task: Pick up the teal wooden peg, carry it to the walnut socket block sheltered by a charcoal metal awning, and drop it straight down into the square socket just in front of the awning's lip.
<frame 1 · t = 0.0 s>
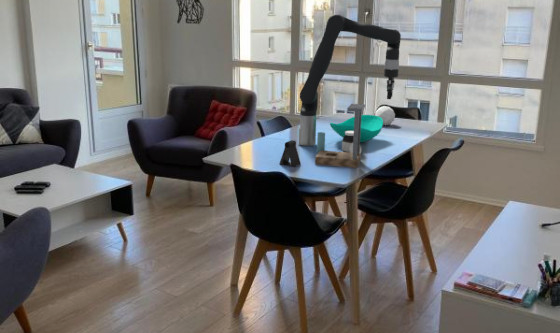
hand: (389, 98, 303), 29 cm above the table, tool pointing down, fingers open, 8 cm apart
peg: (320, 154, 299), on the table
sheltered socket: (331, 162, 285), on the table
table top decor: (355, 142, 331), on the table
phone stand: (290, 164, 279), on the table
geodesic sphere: (384, 125, 381), on the table
spread jar: (352, 154, 302), on the table
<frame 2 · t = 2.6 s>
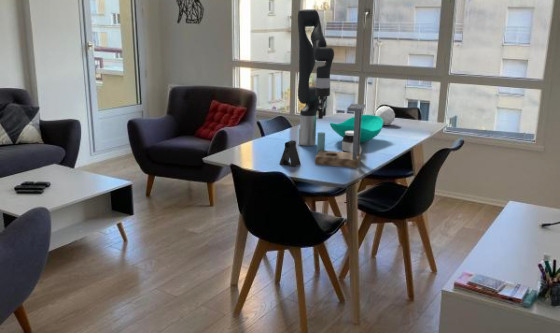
hand: (322, 117, 293), 20 cm above the table, tool pointing down, fingers open, 8 cm apart
nothing on the table moved.
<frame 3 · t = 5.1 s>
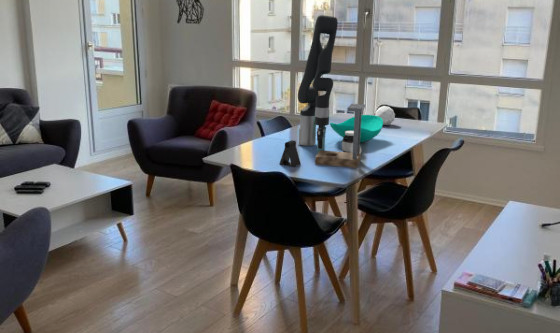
hand: (320, 147, 298), 4 cm above the table, tool pointing down, fingers closed on peg, 4 cm apart
peg: (320, 154, 299), on the table, touching gripper
everything else where it was.
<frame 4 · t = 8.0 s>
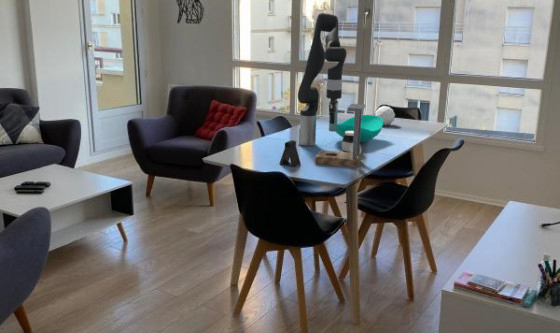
hand: (332, 122, 279), 21 cm above the table, tool pointing down, fingers closed on peg, 4 cm apart
peg: (332, 130, 280), point 16 cm above the table, touching gripper
everything else where it was.
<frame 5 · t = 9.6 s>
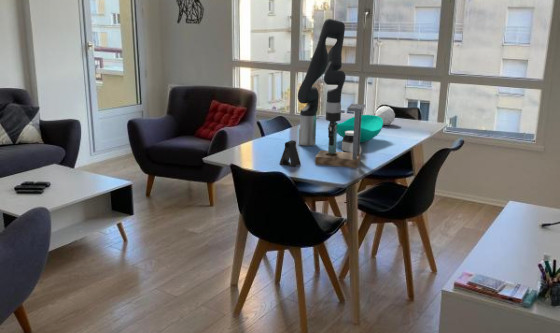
hand: (332, 144, 282), 9 cm above the table, tool pointing down, fingers closed on peg, 4 cm apart
peg: (332, 152, 283), point 5 cm above the table, touching gripper
everything else where it was.
when the fingers open (6 cm above the table, at t = 11.1 s): peg drops 1 cm, resting in sheltered socket.
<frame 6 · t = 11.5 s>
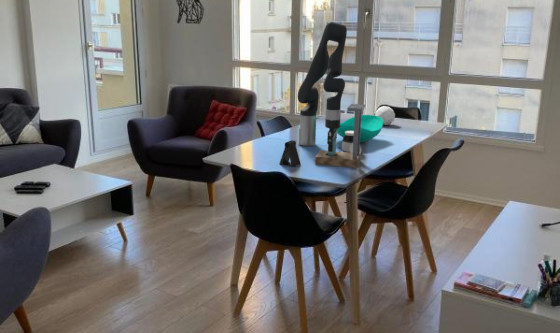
hand: (331, 149, 283), 7 cm above the table, tool pointing down, fingers open, 8 cm apart
peg: (331, 162, 285), resting in sheltered socket
everything else where it was.
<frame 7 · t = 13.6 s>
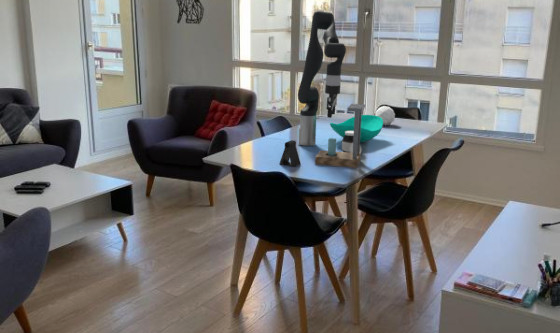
hand: (331, 115, 282), 23 cm above the table, tool pointing down, fingers open, 8 cm apart
nothing on the table moved.
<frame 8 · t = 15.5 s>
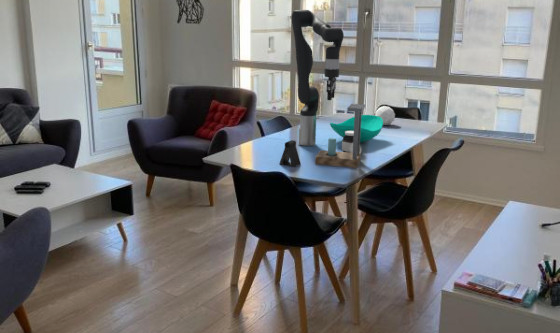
hand: (330, 98, 292), 30 cm above the table, tool pointing down, fingers open, 8 cm apart
nothing on the table moved.
at the end: peg 0.1 cm off-centre on the sheltered socket, point 0.0 cm above the sheltered socket's base; peg tilted 0°; the gripper is holding nothing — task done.
